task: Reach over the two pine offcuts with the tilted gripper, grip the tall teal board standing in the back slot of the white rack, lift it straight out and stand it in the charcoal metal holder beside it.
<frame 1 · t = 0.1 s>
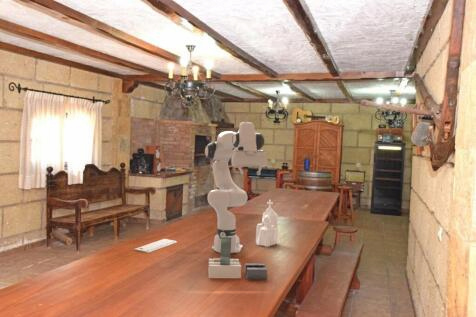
hand: (250, 174, 221), 52 cm above the table, tool tilted 20°, fingers open, 8 cm apart
white keyboard: (157, 247, 262), on the table
charcoal holder: (255, 277, 210), on the table
religious statue: (268, 244, 278), on the table
birch offcut: (229, 272, 214), point 1 cm above the table, touching white rack
teal board: (224, 275, 209), point 1 cm above the table, touching white rack
white rack: (224, 275, 212), on the table
pine offcut: (218, 272, 214), point 1 cm above the table, touching white rack
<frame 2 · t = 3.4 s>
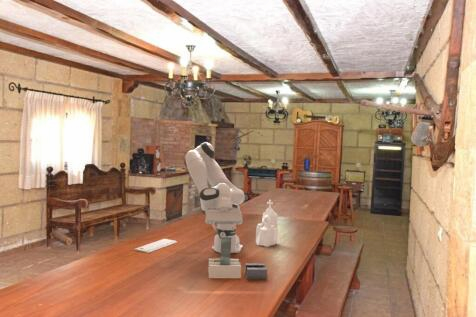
hand: (224, 229, 219), 22 cm above the table, tool tilted 45°, fingers open, 8 cm apart
nothing on the table moved.
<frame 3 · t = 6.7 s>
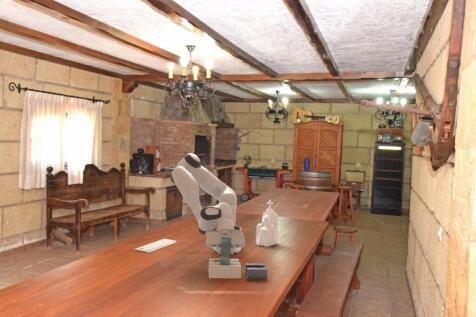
hand: (225, 254, 208), 12 cm above the table, tool tilted 45°, fingers closed on teal board, 5 cm apart
teal board: (224, 275, 209), point 1 cm above the table, touching white rack, gripper
everything else where it was.
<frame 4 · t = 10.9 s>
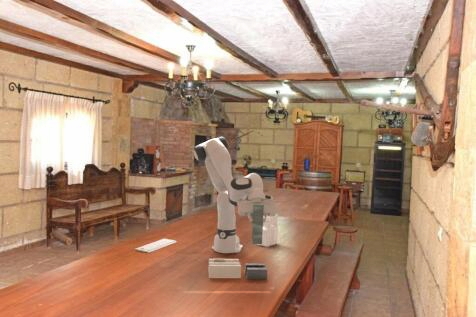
hand: (258, 221, 208), 29 cm above the table, tool tilted 45°, fingers closed on teal board, 5 cm apart
teal board: (256, 243, 210), point 18 cm above the table, touching gripper
everything else where it was.
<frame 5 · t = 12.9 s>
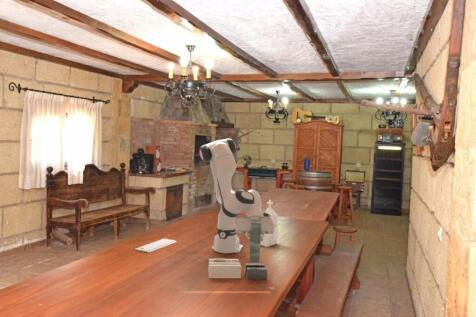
hand: (255, 240, 209), 20 cm above the table, tool tilted 45°, fingers closed on teal board, 5 cm apart
teal board: (254, 261, 210), point 9 cm above the table, touching gripper
everything else where it was.
when the fingers open (14 cm above the table, at t = 14.9 s): teal board drops 2 cm, resting on charcoal holder.
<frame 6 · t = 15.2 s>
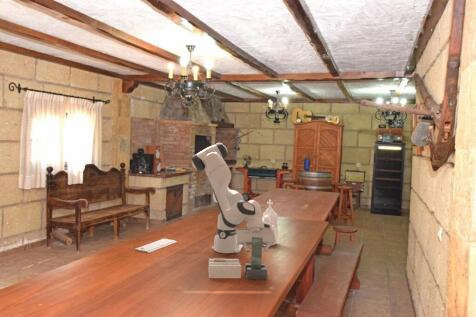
hand: (256, 251, 209), 14 cm above the table, tool tilted 45°, fingers open, 8 cm apart
teal board: (255, 275, 210), point 1 cm above the table, touching charcoal holder
everything else where it was.
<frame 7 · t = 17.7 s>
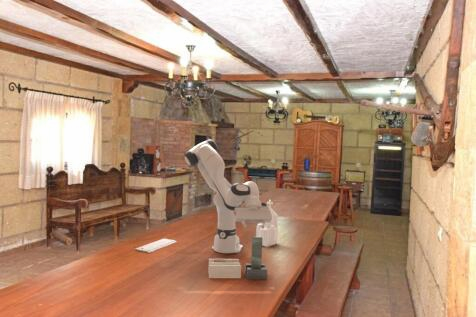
hand: (254, 228, 222), 23 cm above the table, tool tilted 45°, fingers open, 8 cm apart
nothing on the table moved.
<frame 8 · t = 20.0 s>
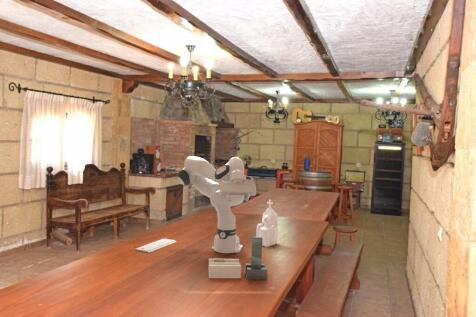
hand: (238, 200, 222), 37 cm above the table, tool tilted 45°, fingers open, 8 cm apart
nothing on the table moved.
at the end: teal board 0.0 cm off-centre on the charcoal holder, point 1.0 cm above the charcoal holder's base; teal board tilted 0°; the gripper is holding nothing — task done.
